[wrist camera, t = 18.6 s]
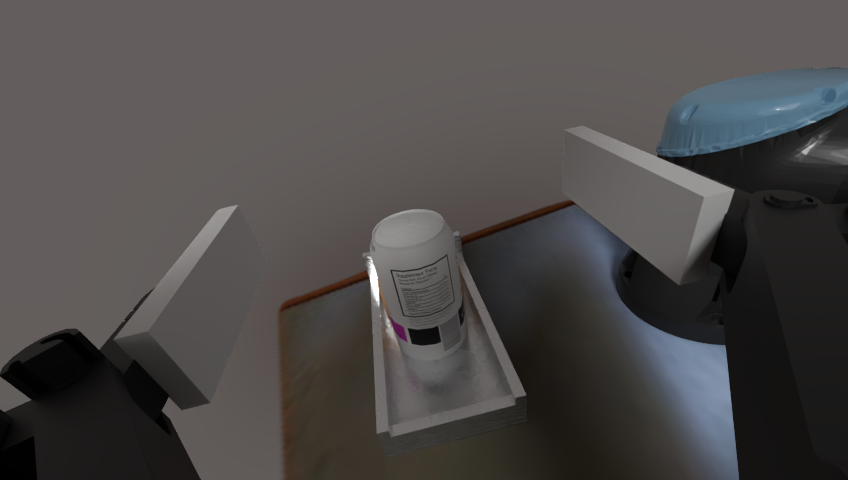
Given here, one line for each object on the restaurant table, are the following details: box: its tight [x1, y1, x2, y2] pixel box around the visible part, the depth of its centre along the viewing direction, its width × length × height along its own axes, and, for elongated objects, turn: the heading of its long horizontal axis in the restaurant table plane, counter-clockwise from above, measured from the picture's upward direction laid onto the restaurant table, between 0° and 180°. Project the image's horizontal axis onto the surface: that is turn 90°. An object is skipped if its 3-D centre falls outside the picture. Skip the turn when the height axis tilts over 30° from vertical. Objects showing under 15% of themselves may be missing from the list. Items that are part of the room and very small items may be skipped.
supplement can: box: [370, 209, 467, 361], centre depth 37 cm, size 8×8×15 cm
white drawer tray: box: [363, 231, 527, 458], centre depth 38 cm, size 22×13×8 cm, turn 9°
